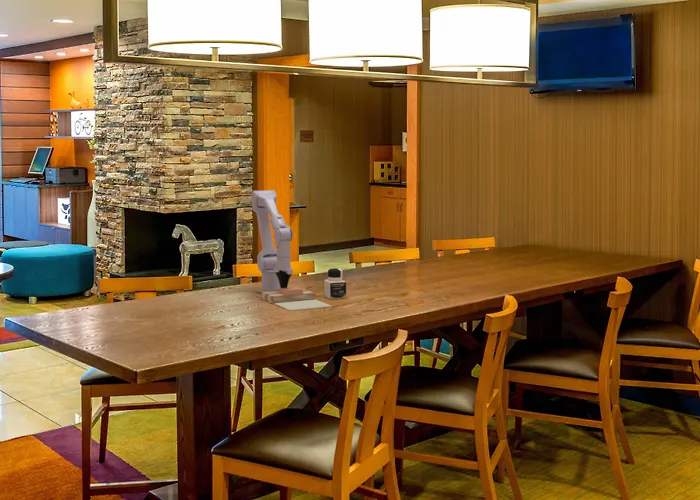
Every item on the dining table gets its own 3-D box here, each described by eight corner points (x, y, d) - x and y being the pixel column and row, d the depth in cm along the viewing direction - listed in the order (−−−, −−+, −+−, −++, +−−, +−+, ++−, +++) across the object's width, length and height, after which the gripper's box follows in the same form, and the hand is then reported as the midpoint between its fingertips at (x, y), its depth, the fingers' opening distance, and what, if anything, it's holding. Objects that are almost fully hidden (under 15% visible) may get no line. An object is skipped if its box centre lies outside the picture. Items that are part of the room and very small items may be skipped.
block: (279, 293, 369) (279, 288, 368) (297, 291, 372) (297, 286, 372) (284, 295, 363) (284, 290, 363) (303, 293, 367) (303, 289, 367)
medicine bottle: (330, 299, 371) (330, 270, 370) (324, 296, 378) (324, 268, 376) (346, 298, 374) (346, 269, 372) (340, 295, 380) (340, 267, 379)
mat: (274, 304, 361) (274, 303, 361) (315, 300, 369) (315, 299, 369) (289, 311, 347) (289, 310, 347) (332, 306, 355) (332, 305, 355)
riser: (261, 298, 373) (261, 291, 373) (301, 294, 382) (300, 287, 381) (274, 304, 361) (273, 296, 361) (314, 300, 369) (314, 293, 369)
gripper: (267, 255, 377) (268, 287, 379) (281, 259, 365) (281, 292, 366) (283, 254, 381) (283, 286, 382) (297, 258, 368) (297, 291, 369)
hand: (283, 289), depth 374 cm, fingers closed
